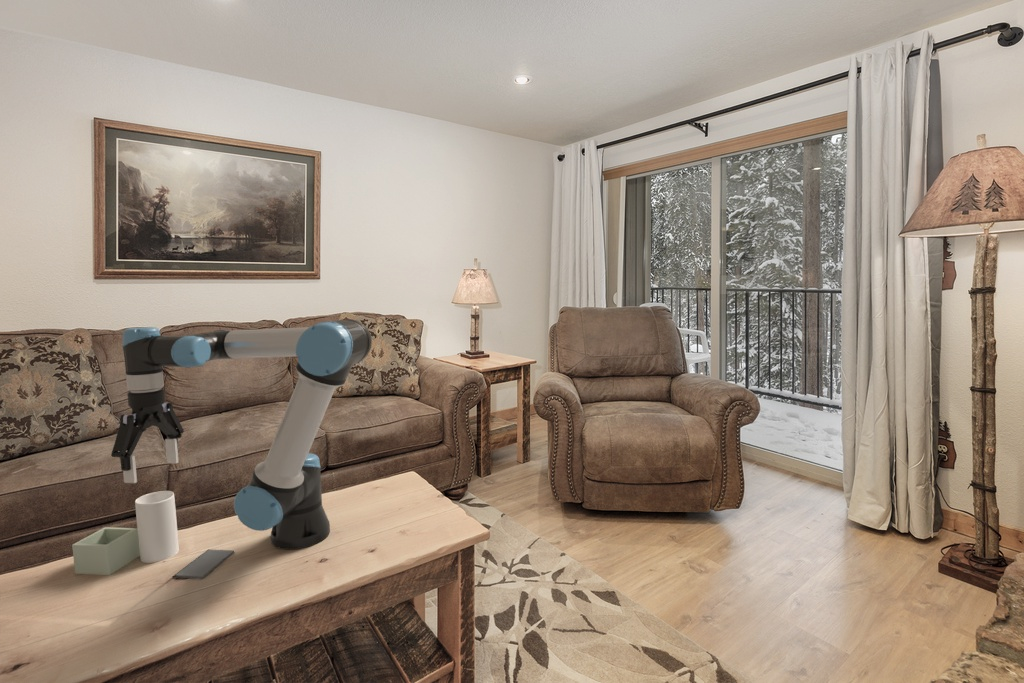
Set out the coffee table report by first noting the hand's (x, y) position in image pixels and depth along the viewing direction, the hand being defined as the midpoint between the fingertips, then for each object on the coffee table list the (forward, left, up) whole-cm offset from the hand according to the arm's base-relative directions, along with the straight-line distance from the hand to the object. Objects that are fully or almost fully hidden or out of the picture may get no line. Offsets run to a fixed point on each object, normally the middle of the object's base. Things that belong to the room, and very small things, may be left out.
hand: (152, 472), depth 131 cm
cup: (0, +1, -23) cm, 23 cm away
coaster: (-12, +3, -22) cm, 26 cm away
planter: (+9, +6, -22) cm, 25 cm away
